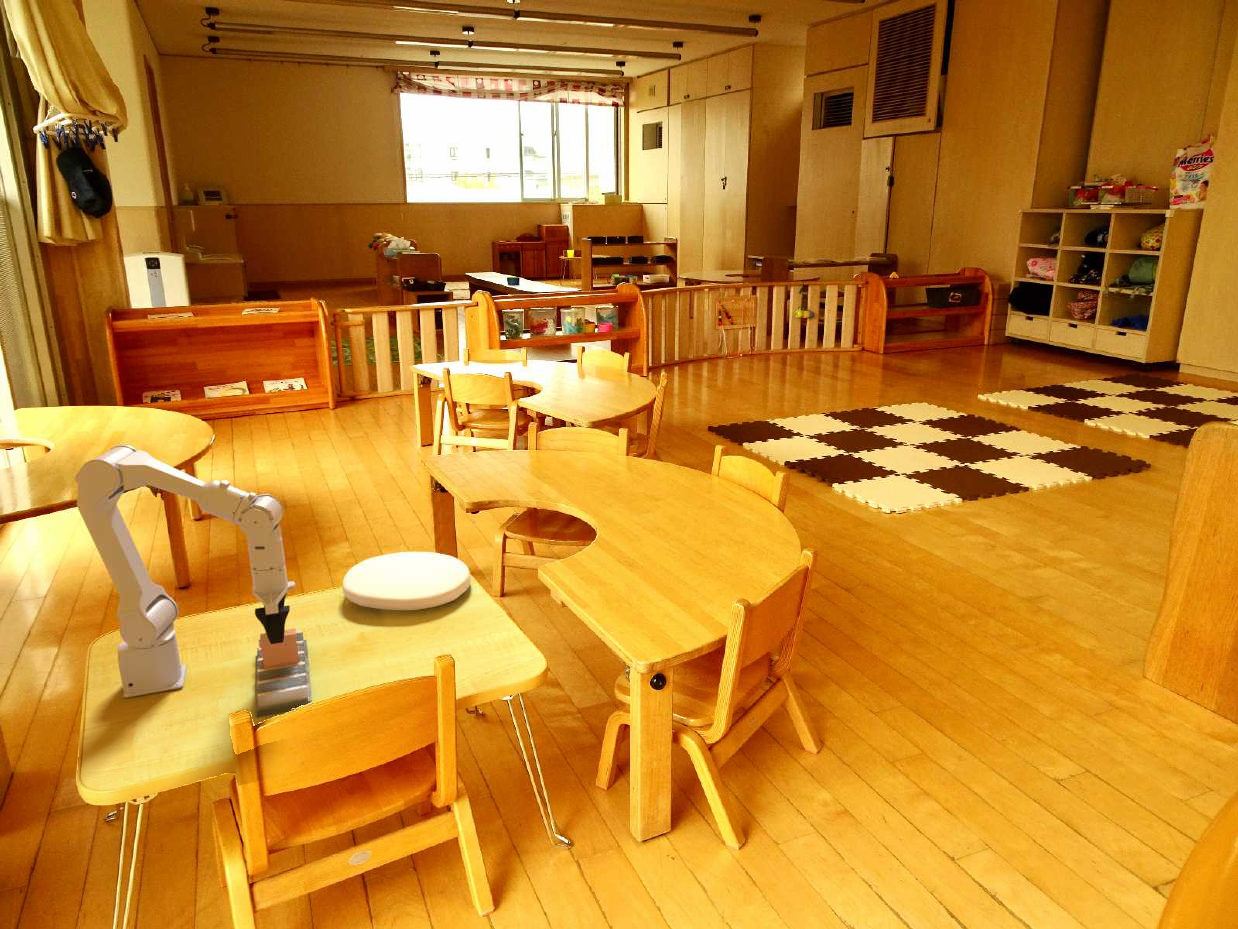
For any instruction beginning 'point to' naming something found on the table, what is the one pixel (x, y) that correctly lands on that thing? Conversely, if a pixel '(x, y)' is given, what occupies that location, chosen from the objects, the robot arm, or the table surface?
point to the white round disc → (406, 581)
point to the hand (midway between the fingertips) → (276, 632)
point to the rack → (283, 683)
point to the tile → (280, 650)
